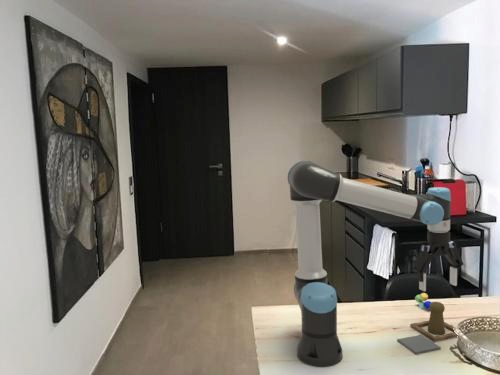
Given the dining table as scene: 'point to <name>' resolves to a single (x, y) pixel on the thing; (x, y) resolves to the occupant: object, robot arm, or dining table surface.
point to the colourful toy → (420, 300)
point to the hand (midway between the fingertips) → (438, 287)
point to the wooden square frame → (433, 338)
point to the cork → (436, 319)
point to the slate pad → (418, 344)
